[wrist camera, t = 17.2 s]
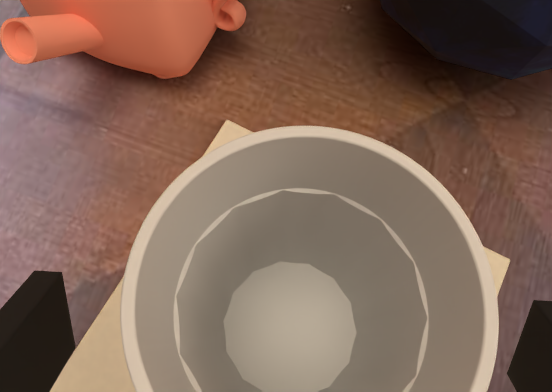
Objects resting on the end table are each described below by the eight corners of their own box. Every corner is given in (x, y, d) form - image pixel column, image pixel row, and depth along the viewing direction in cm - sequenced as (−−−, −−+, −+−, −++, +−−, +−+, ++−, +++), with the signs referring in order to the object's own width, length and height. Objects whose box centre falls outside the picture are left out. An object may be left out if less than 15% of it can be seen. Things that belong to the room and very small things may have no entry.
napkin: (41, 404, 20) (38, 405, 20) (227, 121, 25) (226, 119, 25) (373, 621, 18) (375, 625, 17) (507, 261, 22) (510, 259, 22)
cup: (407, 309, 21) (562, 250, 10) (311, 467, 19) (370, 622, 8) (269, 213, 23) (268, 68, 12) (165, 350, 21) (37, 336, 9)
